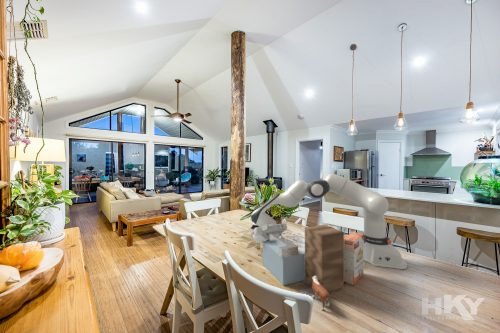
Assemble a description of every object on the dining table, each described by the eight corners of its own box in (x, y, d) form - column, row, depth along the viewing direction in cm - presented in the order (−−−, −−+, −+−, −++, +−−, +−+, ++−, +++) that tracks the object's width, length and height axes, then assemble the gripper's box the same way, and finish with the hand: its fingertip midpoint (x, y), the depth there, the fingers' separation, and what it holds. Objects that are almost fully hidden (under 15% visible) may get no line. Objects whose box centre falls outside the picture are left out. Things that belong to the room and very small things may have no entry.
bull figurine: (317, 291, 96) (317, 273, 96) (332, 312, 83) (332, 291, 83) (307, 292, 96) (307, 273, 95) (321, 313, 82) (321, 292, 82)
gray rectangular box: (262, 264, 121) (262, 241, 121) (281, 260, 126) (281, 238, 125) (283, 285, 101) (283, 257, 100) (304, 280, 105) (304, 253, 105)
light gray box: (261, 241, 121) (261, 234, 121) (275, 239, 124) (275, 232, 124) (281, 257, 100) (281, 249, 100) (298, 254, 104) (298, 246, 104)
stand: (305, 281, 104) (304, 227, 103) (324, 276, 109) (324, 224, 108) (322, 295, 93) (322, 235, 92) (343, 289, 97) (343, 231, 97)
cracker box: (354, 286, 100) (355, 241, 99) (341, 281, 104) (341, 238, 103) (364, 274, 110) (364, 233, 109) (352, 270, 114) (352, 231, 113)
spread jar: (249, 238, 164) (249, 222, 163) (256, 233, 174) (255, 219, 173) (263, 240, 158) (263, 224, 158) (269, 235, 168) (269, 221, 168)
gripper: (249, 229, 129) (257, 222, 118) (279, 224, 137) (289, 218, 125) (251, 240, 126) (259, 234, 115) (281, 234, 134) (292, 229, 123)
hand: (275, 225), depth 120 cm, fingers open, 8 cm apart
